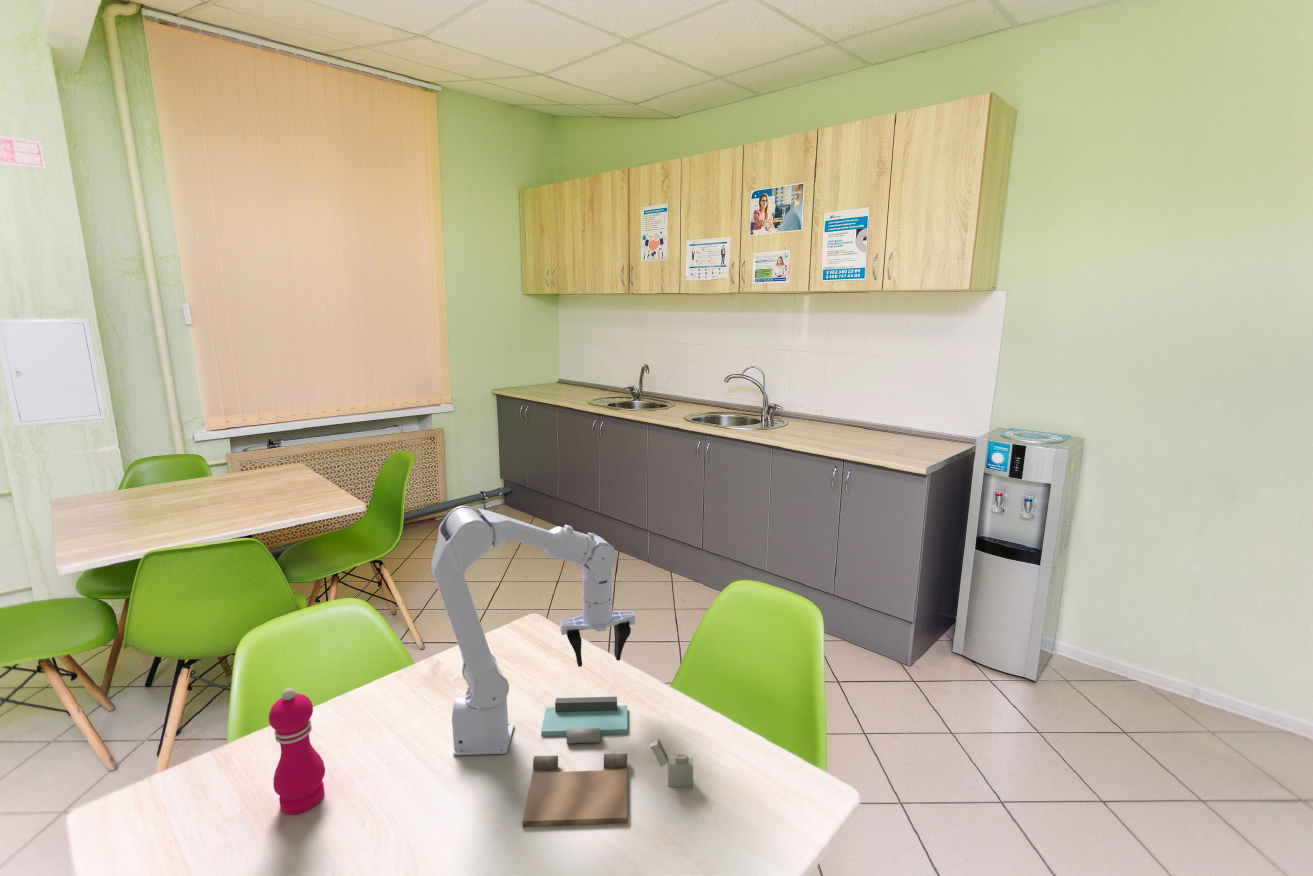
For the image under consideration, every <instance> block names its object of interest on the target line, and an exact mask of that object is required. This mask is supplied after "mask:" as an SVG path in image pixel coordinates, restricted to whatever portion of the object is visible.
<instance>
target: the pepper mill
mask: <svg viewBox="0 0 1313 876" xmlns="http://www.w3.org/2000/svg"><path fill="white" fill-rule="evenodd" d="M281 694H282V695H281V697H280V698H279V699H278V700H276V701H275V702H274V703H273V704H272V706H271V707H270V709H269V713H268V723H269V725H270V727H271V728H272V729H273V730H274V735H275V736H274V738H275V741H276V742H277V743H279V745H280V756H279V760H278V763H277V765H276V769H275V770H274V775H273V790H274V792H275V793H276V794H277V795H278V796H279V798H278V800H279V807H280V808H279V809H280V810H281V812H282V813H284V814H287V815H298V814H303V813H305V812H308V811H310V810H312V809H313V808H315V807H316V806H318V804H320V802H321V801H322V800H323V798H324V796H325V784H324V781H323V779H324V777H325V774H326V766H325V762H324V760H323V758H322V757H321V755H320V753H318V751H317V750H316V749H315V748H314V747H313V745H312V744H311V740H310V733H311V732H312V729H313V725H312V720H311V717H312V715H313V713H314V705H313V702H312V700H311V699H310V697H308V696H307V695H305V694H303V693H296V690H295V689H294V688H292V687H290V688H289V687H288V688H286V689H284V690H283V691H282V693H281Z"/></svg>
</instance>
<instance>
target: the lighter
mask: <svg viewBox="0 0 1313 876" xmlns="http://www.w3.org/2000/svg"><path fill="white" fill-rule="evenodd" d="M649 745H650V746H649V747H650V749H651V751H652V753H653V754H654V757H655V759H656V761H657V762H658V764H659V766H660V767H663V766H666V765H667V778H668V779H667V784H668V785H667V786H668V788H682V789H683V788H684V789H685V788H686V789H687V788H688V789H692V788H693V787H694V758H693V757H689V756H687V754H686V753H675V754H674V756H669V755H668V753H667V751H666V750H665V749H666V748H665V747H664V745H663V743H662V742H661V740H660V738H659V737H655V738H653V739H651V740H650V744H649Z"/></svg>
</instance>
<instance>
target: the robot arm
mask: <svg viewBox="0 0 1313 876" xmlns="http://www.w3.org/2000/svg"><path fill="white" fill-rule="evenodd" d="M477 509H478V511H477V510H476V509H475V508H474V507H471V506H468V505H459V506H456V507H455V508H453V509H451V510H450V511H449V512H448V513H447V514H446V516H445V518H443V520H442V521H441V523H440V524H439V525H438V536H437V540H436V545H435V548H434V552H433V556H432V559H431V563H430V568H431V569H430V571H431V573H432V576H433V579H434V581H435V584H436V587H437V590H438V592H439V595H440V598H441V601H442V603H443V606H444V608H445V612H446V614H447V617H448V621H449V623H450V625H451V628H452V630H453V634H454V637H455V639H456V642H457V645H458V648H459V651H460V653H461V658H462V669H461V673H462V677H463V679H464V681H465V682H466V685H467V686H468V687H467V690H466V692H465V694H461V695H457V696H456V697H455V700H454V701H453V702H454V703H453V707H452V713H451V724H452V738H453V739H452V740H453V752H452V754H453V756H468V755H470V756H471V755H472V756H473V755H500V754H501V755H505V754H507V753H508V750H509V746H510V741H511V739H512V736H513V731H514V727H515V723H514V722H509V716H508V715H509V714H508V694H509V691H510V684H509V681H508V679H507V678H506V677H505V676H504V674H503V672H502V670H501V669H500V667H499V665H498V663H497V659H496V658H495V656H494V655H493V654H492V653H491V650H490V648H489V645H488V642H487V638H486V635H485V633H484V629H483V627H482V624H481V621H480V618H479V616H478V612H477V610H476V607H475V603H474V601H473V598H472V595H471V593H470V589H469V586H468V583H467V581H466V578H465V575H464V574H465V573H466V572H467V570H468V568H469V567H470V566H471V565H472V564H473V563H474V562H476V561H477V560H478V559H479V558H480V557H482V556H483V555H484V554H485V553H486V552H488V550H489V549H490V548H491V546H492V547H493V548H494V549H496V548H499V546H501V545H502V544H503V543H505V542H506V541H510V542H514V543H519V544H524V545H530V546H533V547H538V548H543V549H544V550H545V553H546V555H547V556H548V557H550V558H553V559H558V560H562V561H565V562H568V563H572V564H576V565H581V573H582V574H581V582H582V583H581V585H582V587H581V588H582V614H580V615H578V616H574V617H571V618H569V619H568V618H567V619H565V620H560V621H559V629H560V630H559V631H560V633H561V636H564V635H566V636H567V640H568V642H569V644H570V645H571V647H572V649H573V651H574V653H575V659H576V664H577V667H578V668H581V667H583V659H582V658H583V657H582V642H583V641H582V637H581V633H580V631H585V630H593V631H594V630H595V631H596V632H597V633H599V632H606V631H607V630H608V628H611V627H613V630H614V645H613V647H614V650H613V651H614V657H615V659H616V661H621V657H622V652H623V649H624V646H625V644H626V642H627V641H628V639H629V637H630V635H631V632H632V630H631V629H632V628H631V625H633V626H634V625H635V624H636V618H635V616H636V615H635V613H634V611H633V610H630V611H613V574H612V572H613V568H614V566H615V565H616V564H617V563H616V562H617V560H618V555H617V554H616V551H615V548H614V546H613V545H611V544H610V542H607V541H606V540H605V539H604V538H603V537H602V536H600V535H598V534H596V533H594V532H587V534H586V533H583V532H579V531H576V530H574V528H573V527H572V526H571V525H568V524H564V526H559V525H558V526H554V527H553V528H551V529H546V528H542V527H540V526H536V525H533V524H530V523H528V522H525V521H522V520H518V519H515V518H512V517H510V516H507V515H504V514H500V513H498V512H493V511H490V510H488V509H483V508H477ZM479 512H480V513H481V514H480V513H479Z"/></svg>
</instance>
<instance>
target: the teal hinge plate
mask: <svg viewBox="0 0 1313 876" xmlns="http://www.w3.org/2000/svg"><path fill="white" fill-rule="evenodd" d="M540 734H541V735H540V737H554V736H555V737H556V736H562V737H563V736H566V744H588V743H592V744H594V743H596V744H597V743H601V735H621V734H623V735H624V734H628V705H618V696H595V697H594V696H591V697H589V696H588V697H587V696H586V697H557V698H555V702H554V707H552V706H551V707H545V711H544V717H543V720H542V726H541V731H540Z"/></svg>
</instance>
